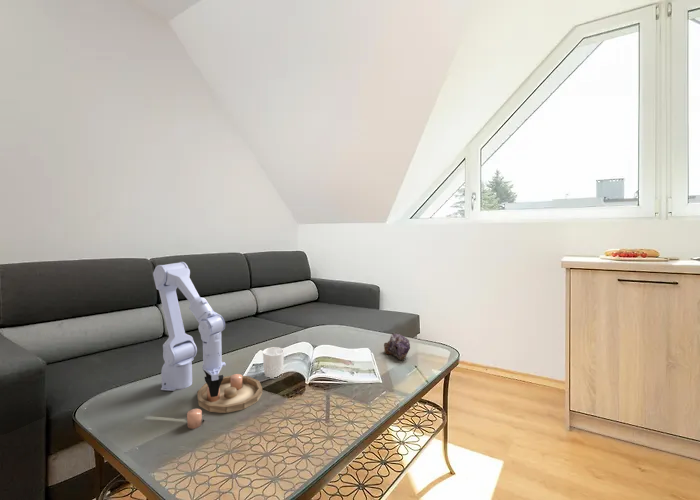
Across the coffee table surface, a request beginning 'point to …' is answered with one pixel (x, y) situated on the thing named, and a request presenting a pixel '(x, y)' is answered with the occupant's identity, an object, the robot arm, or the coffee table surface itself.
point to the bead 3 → (236, 381)
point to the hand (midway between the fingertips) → (213, 391)
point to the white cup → (273, 361)
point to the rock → (397, 346)
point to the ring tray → (238, 398)
